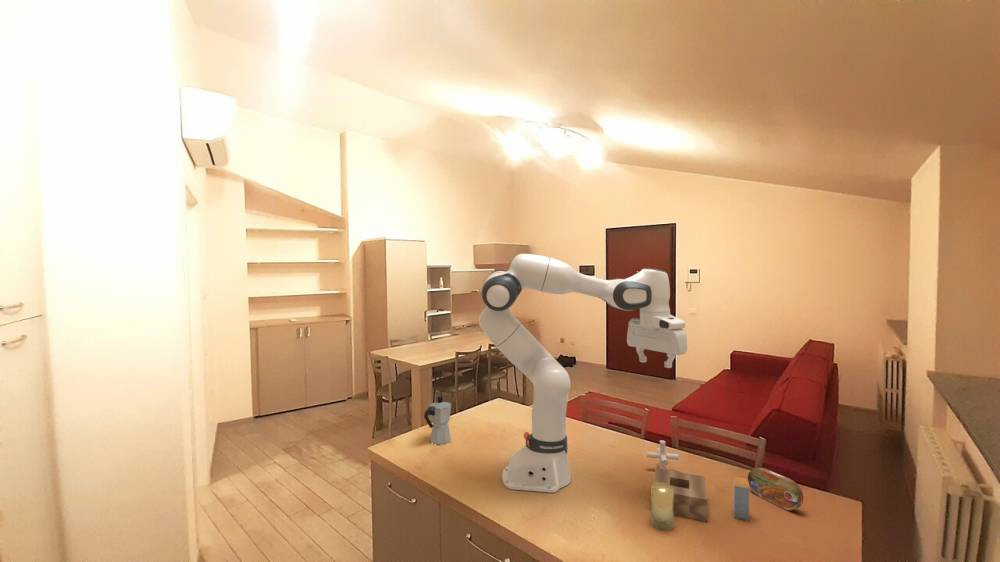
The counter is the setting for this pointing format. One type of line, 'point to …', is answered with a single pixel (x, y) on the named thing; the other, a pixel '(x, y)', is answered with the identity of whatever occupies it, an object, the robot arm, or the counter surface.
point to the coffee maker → (439, 421)
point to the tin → (775, 488)
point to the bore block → (686, 493)
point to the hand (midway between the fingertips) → (655, 364)
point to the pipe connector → (662, 455)
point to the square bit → (741, 498)
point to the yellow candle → (662, 506)
